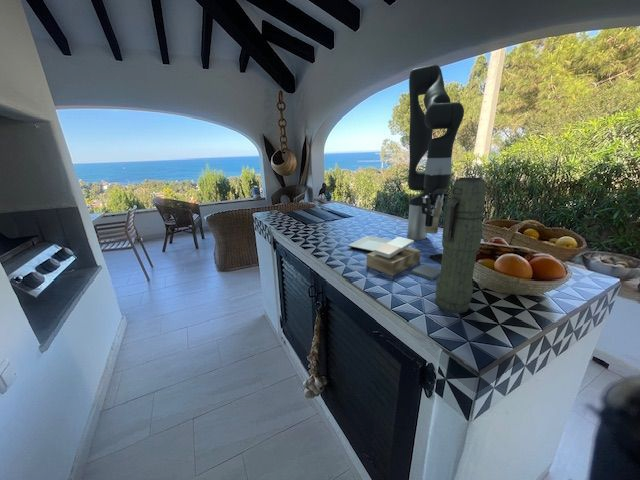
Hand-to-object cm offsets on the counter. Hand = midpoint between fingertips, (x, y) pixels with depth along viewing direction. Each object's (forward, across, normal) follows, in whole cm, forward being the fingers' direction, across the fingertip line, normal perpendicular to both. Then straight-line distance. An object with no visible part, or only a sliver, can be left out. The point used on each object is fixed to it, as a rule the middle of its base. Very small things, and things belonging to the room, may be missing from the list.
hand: (431, 224), depth 87 cm
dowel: (+3, 0, 0) cm, 3 cm away
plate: (+18, -9, -31) cm, 37 cm away
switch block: (+18, +2, -13) cm, 22 cm away
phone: (+19, -15, +1) cm, 24 cm away
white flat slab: (+11, +2, -13) cm, 17 cm away
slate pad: (+18, 0, 0) cm, 18 cm away
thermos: (+18, +14, +15) cm, 27 cm away
